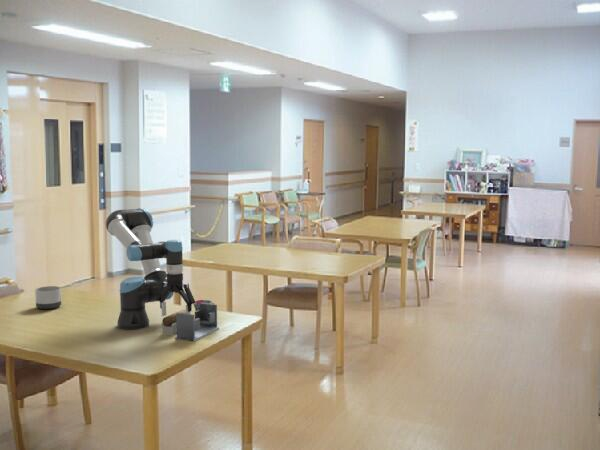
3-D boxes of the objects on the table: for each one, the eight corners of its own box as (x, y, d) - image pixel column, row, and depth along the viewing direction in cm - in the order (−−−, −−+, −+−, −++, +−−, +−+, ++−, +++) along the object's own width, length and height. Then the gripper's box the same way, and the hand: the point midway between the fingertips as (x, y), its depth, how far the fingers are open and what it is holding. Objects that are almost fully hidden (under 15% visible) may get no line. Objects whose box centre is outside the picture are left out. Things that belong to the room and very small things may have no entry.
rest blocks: (161, 333, 295) (161, 323, 294) (178, 326, 308) (178, 315, 307) (173, 335, 292) (173, 324, 292) (189, 327, 305) (189, 317, 305)
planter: (44, 304, 349) (43, 285, 348) (65, 305, 348) (65, 286, 346) (31, 310, 337) (30, 290, 336) (53, 311, 335) (52, 291, 334)
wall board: (174, 338, 288) (174, 336, 288) (199, 326, 307) (199, 324, 307) (195, 341, 284) (195, 339, 284) (219, 329, 303) (219, 327, 303)
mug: (199, 326, 307) (199, 305, 306) (189, 322, 314) (189, 301, 313) (220, 322, 315) (219, 301, 314) (209, 318, 322) (209, 298, 321)
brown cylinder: (170, 327, 292) (170, 317, 291) (162, 326, 294) (162, 316, 293) (188, 319, 306) (188, 310, 305) (180, 318, 307) (180, 309, 307)
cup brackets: (176, 338, 288) (176, 313, 286) (201, 326, 307) (200, 302, 305) (193, 341, 284) (193, 315, 283) (217, 328, 303) (216, 304, 302)
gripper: (148, 272, 298) (149, 316, 300) (193, 276, 288) (194, 321, 291) (157, 269, 305) (158, 312, 307) (201, 273, 295) (202, 317, 297)
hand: (176, 316), depth 299 cm, fingers open, 13 cm apart
